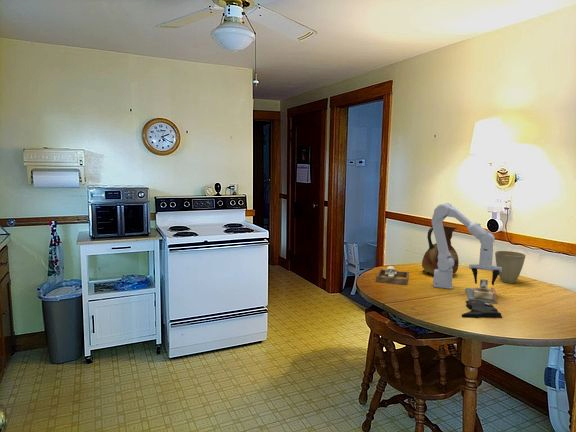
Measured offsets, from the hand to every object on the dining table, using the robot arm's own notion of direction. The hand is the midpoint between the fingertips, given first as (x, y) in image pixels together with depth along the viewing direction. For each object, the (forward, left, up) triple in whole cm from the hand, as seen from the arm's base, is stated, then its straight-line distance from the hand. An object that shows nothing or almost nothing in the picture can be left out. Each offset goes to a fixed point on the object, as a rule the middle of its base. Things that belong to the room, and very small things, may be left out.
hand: (484, 283), depth 200 cm
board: (-2, -5, -5) cm, 7 cm away
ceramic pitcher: (-20, +32, -5) cm, 38 cm away
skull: (-46, +8, -6) cm, 47 cm away
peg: (0, 0, -4) cm, 4 cm away
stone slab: (-5, -27, -6) cm, 28 cm away
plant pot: (+16, +30, -5) cm, 34 cm away
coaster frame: (-45, +9, -5) cm, 46 cm away
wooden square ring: (-2, -9, -4) cm, 10 cm away
